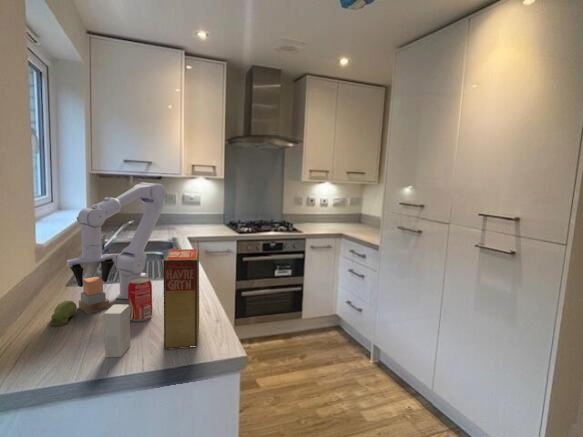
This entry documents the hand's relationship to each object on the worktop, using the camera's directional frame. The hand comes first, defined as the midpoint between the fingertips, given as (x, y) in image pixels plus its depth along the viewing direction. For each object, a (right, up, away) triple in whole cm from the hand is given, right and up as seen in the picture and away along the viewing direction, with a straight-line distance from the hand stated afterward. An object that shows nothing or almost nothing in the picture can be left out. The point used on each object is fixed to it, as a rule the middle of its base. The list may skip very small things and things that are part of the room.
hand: (92, 283), depth 117 cm
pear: (-4, -10, -9) cm, 14 cm away
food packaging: (+35, -13, -16) cm, 41 cm away
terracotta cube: (0, -3, 0) cm, 3 cm away
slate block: (0, -6, +1) cm, 6 cm away
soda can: (+18, -11, -5) cm, 22 cm away
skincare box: (+21, -13, -25) cm, 36 cm away
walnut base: (0, -9, +2) cm, 9 cm away
